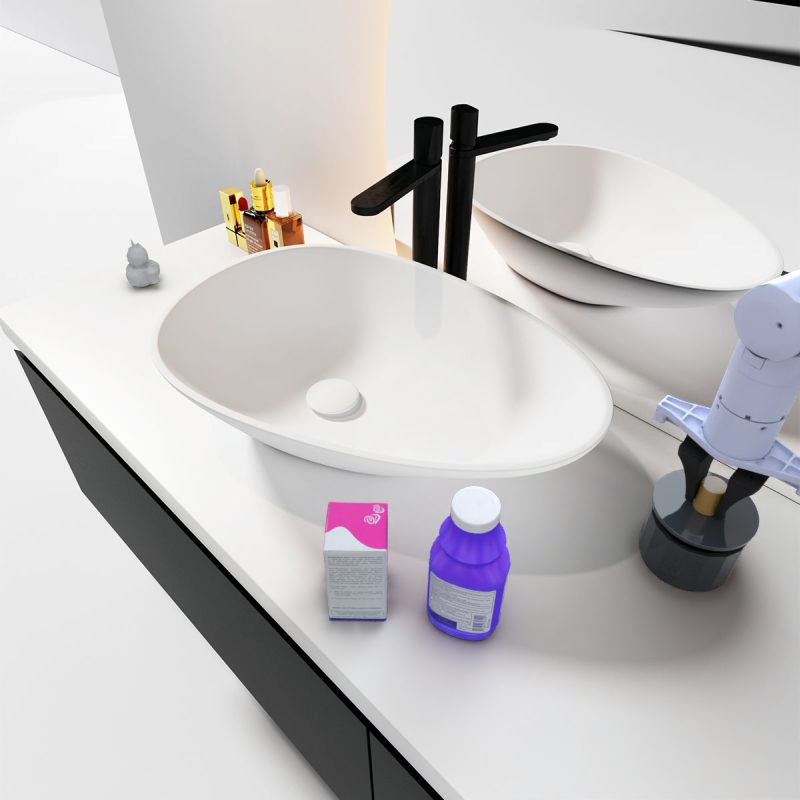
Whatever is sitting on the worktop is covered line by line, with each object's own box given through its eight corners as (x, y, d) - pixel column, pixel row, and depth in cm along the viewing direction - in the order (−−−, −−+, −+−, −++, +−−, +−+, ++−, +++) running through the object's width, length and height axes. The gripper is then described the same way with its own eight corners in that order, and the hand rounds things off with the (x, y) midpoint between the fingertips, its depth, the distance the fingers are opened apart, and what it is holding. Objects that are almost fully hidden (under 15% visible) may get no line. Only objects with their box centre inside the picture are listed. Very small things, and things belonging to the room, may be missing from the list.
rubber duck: (147, 271, 116) (134, 227, 111) (174, 283, 114) (162, 239, 108) (120, 285, 113) (106, 241, 108) (147, 298, 110) (134, 254, 105)
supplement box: (388, 622, 68) (386, 552, 60) (328, 621, 68) (318, 552, 61) (390, 571, 72) (388, 500, 65) (333, 571, 72) (324, 500, 65)
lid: (772, 512, 69) (788, 483, 67) (727, 574, 64) (742, 546, 61) (680, 461, 75) (690, 432, 72) (631, 514, 69) (641, 485, 66)
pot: (747, 552, 74) (766, 517, 70) (705, 609, 69) (723, 574, 65) (666, 504, 79) (679, 468, 75) (622, 553, 74) (634, 519, 70)
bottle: (506, 602, 70) (526, 488, 58) (492, 653, 66) (511, 542, 54) (436, 582, 71) (442, 468, 60) (419, 630, 67) (421, 518, 56)
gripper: (860, 417, 58) (798, 520, 67) (695, 343, 65) (660, 444, 74) (828, 463, 54) (767, 565, 63) (657, 378, 61) (625, 481, 70)
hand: (707, 503), depth 68 cm, fingers closed on lid, 2 cm apart
